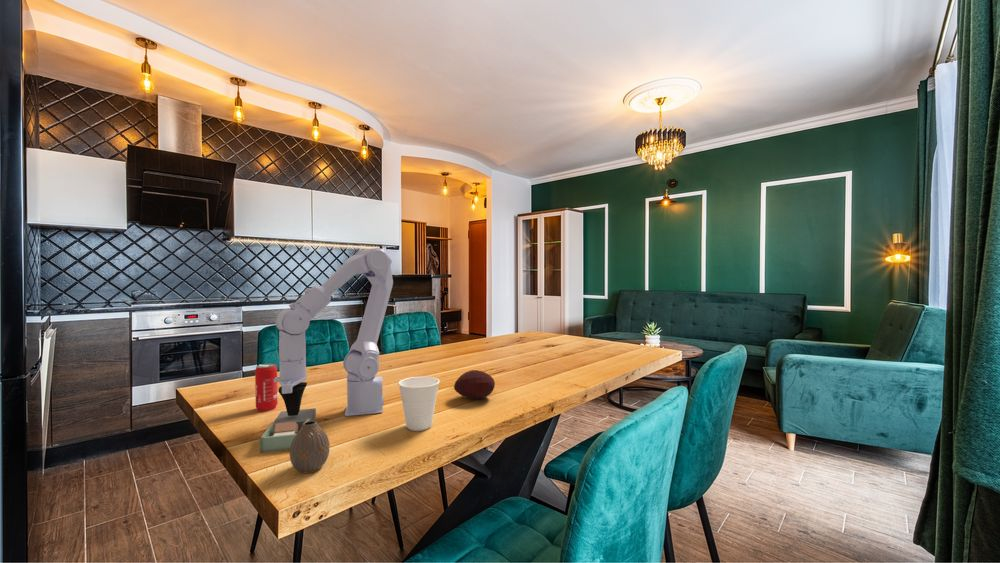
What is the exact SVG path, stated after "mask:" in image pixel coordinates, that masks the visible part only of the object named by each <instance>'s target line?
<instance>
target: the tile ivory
mask: <svg viewBox="0 0 1000 563" xmlns="http://www.w3.org/2000/svg"><path fill="white" fill-rule="evenodd" d="M289 434H295V430H294V431H285V432H276V433H275V434H274V435H273V436H279V435H289Z"/></svg>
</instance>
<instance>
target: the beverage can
mask: <svg viewBox="0 0 1000 563" xmlns="http://www.w3.org/2000/svg"><path fill="white" fill-rule="evenodd" d="M254 372H255V374H254V375H255V376H254V383H255V384H254V385H255V388H254V389H255V408H256V410H257V411H258V412H270V411H273V410H276V408H277V405H278V404H279V403H278V382H274V379H275V378H276V377H278V367H277V364H276V363H263V364H259V365H256V367H255V369H254Z"/></svg>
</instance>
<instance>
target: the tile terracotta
mask: <svg viewBox="0 0 1000 563" xmlns="http://www.w3.org/2000/svg"><path fill="white" fill-rule="evenodd" d="M294 430H295V434H296V433H298V424H297V423H296V422H286V423H276V424H275V431H274V432H275V433H276V432H285V431H294Z"/></svg>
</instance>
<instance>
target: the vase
mask: <svg viewBox="0 0 1000 563" xmlns="http://www.w3.org/2000/svg"><path fill="white" fill-rule="evenodd" d="M329 456H330V440H329V437H328V435H327V433H326V432H325V431H324V430H323V428H321V427H320V425H319V423H318V422H317V420H315V421H307V422H304V423H303V424H302V427H301V429H300V430H299V431H298V433H297V434H296V435H295V437H294V438H293V440H292V443H291V446H290V450H289V459H290V463H291V465H292V468H294V469H295V470H296V471H297V472H299V473H301V474H310V473H314V472H317V471H318V470H320V469H322V467H323V466H324V465H325V464H326V462H327V460H328V458H329Z"/></svg>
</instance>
